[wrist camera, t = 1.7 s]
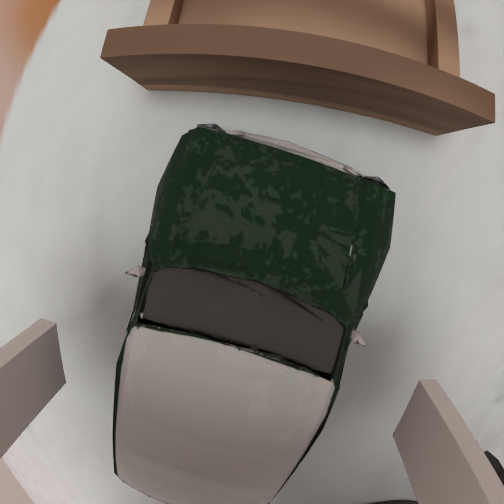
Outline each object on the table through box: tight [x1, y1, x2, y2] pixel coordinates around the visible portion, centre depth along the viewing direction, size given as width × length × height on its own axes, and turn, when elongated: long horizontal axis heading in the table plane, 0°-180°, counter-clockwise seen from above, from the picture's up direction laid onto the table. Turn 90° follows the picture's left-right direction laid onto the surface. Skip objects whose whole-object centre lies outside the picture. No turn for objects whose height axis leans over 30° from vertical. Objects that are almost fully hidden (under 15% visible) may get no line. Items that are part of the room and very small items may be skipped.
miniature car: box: [113, 124, 396, 504], centre depth 12 cm, size 9×18×8 cm, turn 163°
